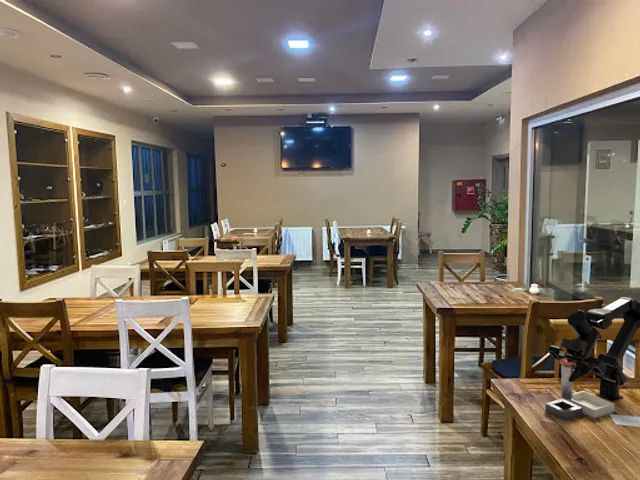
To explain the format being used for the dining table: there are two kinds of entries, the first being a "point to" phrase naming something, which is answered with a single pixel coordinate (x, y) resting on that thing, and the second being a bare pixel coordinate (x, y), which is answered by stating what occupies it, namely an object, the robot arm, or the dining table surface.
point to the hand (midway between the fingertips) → (564, 379)
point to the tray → (592, 404)
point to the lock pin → (566, 378)
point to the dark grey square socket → (563, 409)
